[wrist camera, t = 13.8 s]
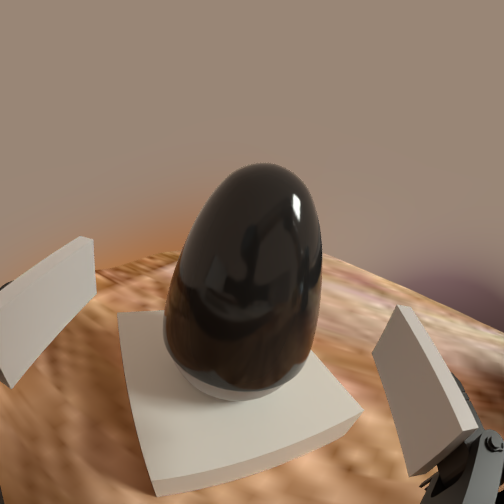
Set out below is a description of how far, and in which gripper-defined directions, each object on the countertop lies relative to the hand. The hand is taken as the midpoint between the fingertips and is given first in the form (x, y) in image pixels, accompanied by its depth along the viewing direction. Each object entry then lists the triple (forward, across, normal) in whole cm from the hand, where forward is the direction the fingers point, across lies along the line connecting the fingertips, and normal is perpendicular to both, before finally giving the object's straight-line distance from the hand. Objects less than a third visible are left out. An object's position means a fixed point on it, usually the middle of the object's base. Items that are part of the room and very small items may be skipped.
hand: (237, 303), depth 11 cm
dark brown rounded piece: (+6, 0, -10) cm, 12 cm away
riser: (+6, 0, -14) cm, 16 cm away
